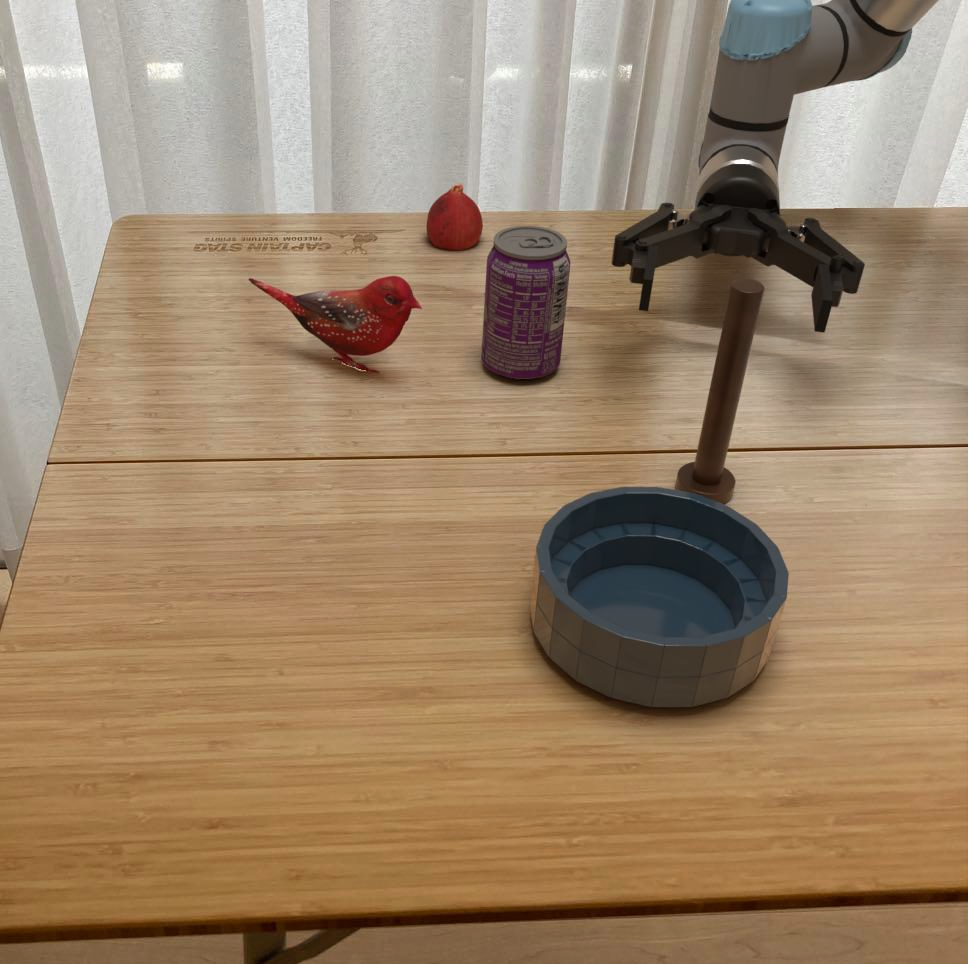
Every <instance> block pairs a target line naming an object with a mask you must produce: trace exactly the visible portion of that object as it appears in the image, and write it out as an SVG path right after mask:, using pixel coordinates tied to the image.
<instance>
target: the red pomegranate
mask: <svg viewBox="0 0 968 964" xmlns="http://www.w3.org/2000/svg"><path fill="white" fill-rule="evenodd" d="M483 228H484V224H483V217H482V213H481V210H480V208H479V206H478V205H477V203H476V202H475V201H474V200H473V199H472V198H471V197H470V196H469V195H467V194H466V193H464V186H463V184H462V183H461V182H460V183H454V185H452V186H451V188H450V189H449V190H448V191H446V192H445V193H443V194H442V195H440V196H439V197H438V198H437V199H436V200H435V201H434V202H433V203H432V205H431V206H430V207H429V210H428V213H427V219H426V235H427V237H428V239H429V241H430V242H431V244H432V245H433V246H434V247H436V248H439V249H442V250H446V251H463V250H468V249H471V248H472V247H474V246H475V245H476V244H477V243H478V241H479V239H480V238H481V236H482V233H483Z"/></svg>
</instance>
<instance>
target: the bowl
mask: <svg viewBox="0 0 968 964" xmlns="http://www.w3.org/2000/svg"><path fill="white" fill-rule="evenodd" d="M789 573H790V572H789V570H788V567H787V565H786V562H785V560H784V558H783V555H782V553H781V550H780V548H779V546H778V545H777V544H776V543H775V542H774V541H773V540H772V539H771V538H770V537H769V536H768V535H767V534H766V532H765V531H764V530H763V529H762V528H761V527H760V526H759V525H758V524H757V523H756V522H754V521H753V520H750V519H749V518H748V517H746V516H745V515H743V514H742V513H739V512H738V511H736V510H735V509H734V508H732V507H731V506H728V505H726V504H721V503H719V502H716V501H713V500H711V499H708V498H706V497H703V496H700V495H698V494H694V493H689V492H683V491H678V490H676V489H672V488H667V487H661V486H620V487H614V488H609V489H604V490H597V491H594V492H590V493H587V494H585V495H583V496H581V497H579V498H577V499H575V500H573V501H569V502H568V503H566V504H564V505H563V506H561V508H559V509H558V510H557V511H556V513H555V514H553V516H551V517H550V518H549V519H548V520H547V522H545V524H544V525H543V528H542V529H541V532H540V535H539V538H538V541H537V544H536V546H535V555H534V565H533V575H532V584H531V594H530V595H531V596H530V603H529V605H530V606H529V609H530V616H531V622H532V625H531V626H532V631H533V633H534V636H535V637H536V639H537V640H538V642H539V643H540V645H541V647H542V649H543V651H544V652H545V654H546V655H547V657H548V658H549V659H550V661H552V662H553V663H554V664H556V665H557V666H558V667H559V668H560V669H562V671H564V672H565V673H566V674H567V675H568V676H569V677H571V678H572V679H573V680H574V681H575V682H577V683H580V684H582V685H583V686H586V687H588V688H590V689H592V690H593V691H596V692H598V693H600V694H602V695H603V696H605V697H608V698H611V699H614V700H619V701H622V702H627V703H631V704H637V705H640V706H645V707H649V708H651V707H652V708H694V707H698V706H702V705H705V704H709V703H712V702H717V701H720V700H725V699H727V698H729V697H731V696H732V695H734V694H736V693H737V692H738V691H740V690H742V689H743V688H745V687H746V686H748V685H749V684H751V683H753V682H754V681H756V678H757V677H758V676H759V674H760V673H761V671H762V669H763V668H764V666H765V665H766V663H767V662H768V660H769V659H770V656H771V653H772V649H773V645H774V643H775V639H776V637H777V633H778V628H779V626H780V622H781V619H782V616H783V611H784V608H785V605H786V601H787V599H788V588H789V577H790V574H789Z"/></svg>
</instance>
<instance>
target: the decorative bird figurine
mask: <svg viewBox="0 0 968 964" xmlns="http://www.w3.org/2000/svg"><path fill="white" fill-rule="evenodd" d="M248 281H249V282H250V283H251V284H252V285H253V286H255V287H256V288H258V289H259V290H260V291H262V292H264V293H265V294H267V296H270V297H271V298H272V299H275V300H276V301H277V302H279V303H280V304H282V305H283V307H285V308H286V309H287V310H288V311H289V312H290V313H291V314H292V315H293V316H294V318H295V319H296V320H297V322H298V323H299V324H300V325H301V327H302V328H303V329H304V330H305V331H306V332H307V333H310V335H312V336H314V337H315V338H317V339H318V340H319V341H320V342H322V343H324V344H325V346H327V347H329V348H330V349H332V350H333V351H334V352H335V353H336V354H337V355H339V356H334V357H332V358H333V359H337V360H336V361H338V360H339V362H343V363H345V364H346V365H349V366H352V367H356V368H358V369H361V370H366V371H367V372H368V371H370V372H369V373H375V374H379V375H380V374H381V371H379V370H376V369H372V368H369V367H368V366H366V364H363V363H360V362H357V361H355V360H354V359H353V358H352V357H351V356H354V357H355V356H358V357H366V356H371V355H375V354H378V353H380V352H383V351H385V350H386V349H387V348H389V347H391V346H392V345H393V344H394V343H395V342H396V340H397V339H398V338H399V337H400V336H401V334H402V331H403V329H404V326H405V325H406V323H407V322H409V319H410V316H411V314H412V309H420V310H423V308H422V306H421V304H420V302H419V301H418V300H417V299H416V297H415V295H414V292H413V289H412V287H411V285H410V284H409V282H408V281H407V280H406V279H404V278H402V277H401V276H397V275H390V276H389V275H388V276H384V277H380V278H377V279H374V280H373V281H371V282H370V283H368V284H367V285H366V286H364V287H362V288H358V289H348V290H347V289H345V290H344V289H339V290H337V289H330V290H319V291H313V292H308V293H307V292H306V293H303V294H299V295H294V294H291V293H290V292H289V293H288V292H286V291H284V290H282V289H279V288H276V287H274V286H272V285H270V284H267V283H265V282H262V281H260V280H257V279H254V278H251V277H249V278H248Z"/></svg>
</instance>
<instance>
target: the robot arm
mask: <svg viewBox="0 0 968 964" xmlns="http://www.w3.org/2000/svg"><path fill="white" fill-rule="evenodd" d="M939 1H940V0H830V1H828V2H826V3H822V4H816V5H813V3H812V0H730V1H729V3H728V8H727V12H726V16H725V18H724V19H725V20H724V24H723V29H722V31H721V35H720V37H719V40H718V42H719V43H718V45H719V50H718V56H717V62H716V68H715V73H714V81H713V85H712V92H711V98H710V104H709V109H708V113H707V118H706V122H705V123H706V124H705V130H704V136H703V139H702V141H701V144H700V151H699V154H698V160H697V161H698V162H697V163H698V169H699V170H698V171H699V172H698V177H697V184H696V193H695V203H694V209H693V210H692V211H691V212H690V213H689V214H686V213H679V211H678V210H677V209H675V205H674V204H673V203H672V202H661V204H659V207H658V209H657V211H655V212H653V213H652V214H650V215H648V216H647V217H645V218H643V219H642V220H639V221H638V222H636V223H634V224H633V225H631V226H629V227H627V228H626V229H624V230H622V231H621V232H619V233H618V234H616V235H614V242H613V249H612V256H611V266H614V267H618V268H622V267H623V268H624V267H625V266H628V265H629V266H630V274H629V282H630V283H631V284H638V285H642V286H641V293H640V300H639V306H638V311H641V312H649V308H650V302H651V297H652V289H653V283H654V278H655V272H656V269H657V268H660V267H663V266H666V265H669V264H671V263H675V262H678V261H680V260H683V259H686V258H689V257H693V258H694V259H700V258H703V257H705V256H708V255H712V254H714V255H721V256H725V257H731V258H733V257H742V256H743V257H745V258H747V259H748V258H752V259H753V260H755V261H757V262H758V263H760V264H762V265H763V266H765V267H772V266H776V267H777V268H779V269H781V270H783V271H784V272H786V273H787V274H790V275H792V276H793V277H795V278H796V279H798V280H800V281H801V282H803V283H804V284H807V285H808V286H810V287H811V288H812V290H811V294H810V295H811V296H810V297H811V306H812V317H813V318H812V319H813V330H814V332H816V333H825V332H826V329H827V326H828V322H829V318H830V314H831V310H832V308H838V307H839V305H840V303H841V300H842V295H843V292H844V293H845V294H850V295H855V294H857V293H858V290H859V288H860V284H861V280H862V277H863V274H864V269H865V265H866V264H865V262H864V261H863V260H861V259H860V258H859V257H858V256H856V255H855V254H854V253H852V252H851V251H850V250H849V249H847V247H845V246H844V245H843V244H841V243H840V242H839V241H838V240H836V239H835V238H834V237H833V236H832V235H830V234H829V233H828V232H826V231H825V230H824V229H823V228H822V226H821V223H820V222H819V220H818V219H816V218H814V217H806V218H805V219H804V220H803V223H800V224H799V225H787V222H786V221H785V220H784V219H783V218H782V217H781V203H780V201H781V200H780V184H779V164H780V157H781V152H782V148H783V144H784V139H785V136H786V135H785V134H786V130H787V125H788V123H789V119H790V114H791V113H790V112H791V109H792V104H793V100H794V96H795V95H798V94H803V93H806V92H807V93H808V92H810V91H811V92H812V91H815V90H819V89H823V88H827V87H832V86H837V85H840V84H841V85H842V84H846V83H851V82H856V81H865V80H868V79H871V78H873V77H874V76H877V75H878V74H880V73H884V72H886V71H888V70H889V69H892V68H893V67H894V66H896V65H897V64H898V63H899V62H900V61H901V60H902V58H903V57H904V56H905V54H906V53H907V49H908V47H909V44H910V41H911V40H912V34H913V27H914V26H916V25H917V24H918V23H919V22H920V20H921V19H923V17H924V16H925V15H926V14H928V12H929V11H930V10H931V9H932V8H933V7H935V5H936V4H937V3H938V2H939Z"/></svg>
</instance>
